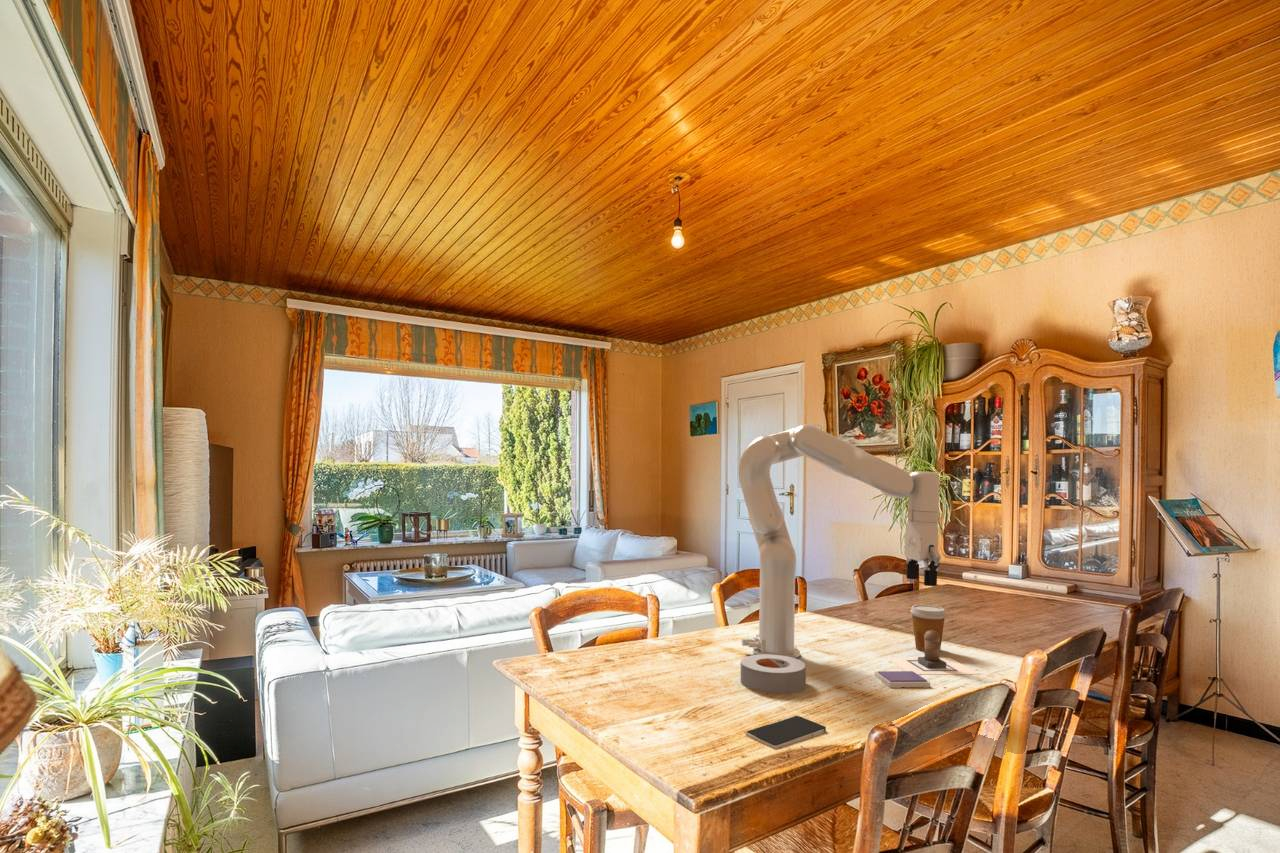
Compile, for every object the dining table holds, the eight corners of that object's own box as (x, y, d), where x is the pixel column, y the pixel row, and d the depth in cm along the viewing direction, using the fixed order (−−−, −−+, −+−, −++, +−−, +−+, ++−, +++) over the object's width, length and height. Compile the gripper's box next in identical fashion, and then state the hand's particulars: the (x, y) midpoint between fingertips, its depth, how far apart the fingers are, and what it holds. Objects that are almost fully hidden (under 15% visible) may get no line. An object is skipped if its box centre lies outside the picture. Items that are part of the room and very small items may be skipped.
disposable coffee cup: (952, 655, 190) (952, 612, 191) (917, 654, 191) (917, 611, 191) (937, 646, 200) (938, 604, 201) (904, 645, 200) (905, 604, 201)
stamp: (927, 668, 177) (927, 632, 178) (918, 662, 182) (918, 628, 182) (946, 668, 178) (946, 632, 178) (936, 662, 183) (936, 628, 183)
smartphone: (744, 731, 133) (796, 714, 141) (744, 737, 133) (796, 720, 141) (775, 746, 126) (828, 727, 135) (775, 752, 126) (828, 733, 135)
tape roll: (726, 681, 165) (727, 660, 165) (768, 670, 174) (768, 650, 175) (778, 700, 153) (778, 676, 153) (819, 686, 163) (819, 664, 163)
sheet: (911, 675, 172) (911, 673, 172) (886, 659, 186) (886, 657, 186) (979, 674, 174) (979, 673, 174) (949, 658, 188) (949, 657, 188)
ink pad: (889, 687, 162) (889, 681, 162) (874, 676, 170) (874, 670, 170) (930, 687, 163) (930, 681, 163) (913, 676, 171) (913, 670, 171)
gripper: (894, 514, 192) (893, 576, 191) (925, 520, 175) (923, 588, 174) (920, 515, 193) (919, 576, 192) (953, 521, 175) (951, 589, 175)
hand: (921, 582), depth 183 cm, fingers open, 9 cm apart
